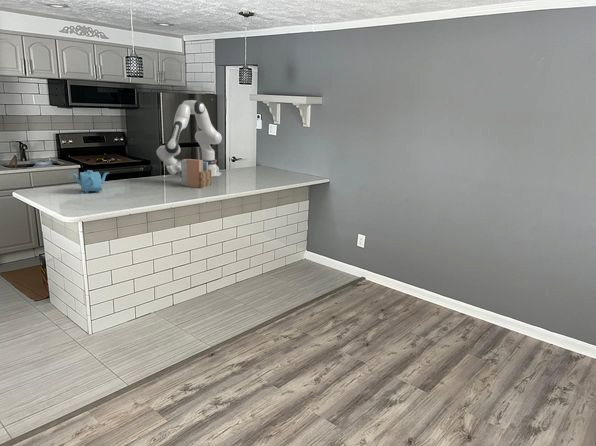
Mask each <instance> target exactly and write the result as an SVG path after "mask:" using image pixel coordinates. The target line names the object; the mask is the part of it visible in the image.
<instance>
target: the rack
mask: <svg viewBox="0 0 596 446" xmlns="http://www.w3.org/2000/svg"><path fill="white" fill-rule="evenodd" d="M212 182H213V181H212V177H211V169H209V170H205V171H202V172H199V189H203V188H206V187H209V186H211V185H212Z"/></svg>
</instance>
